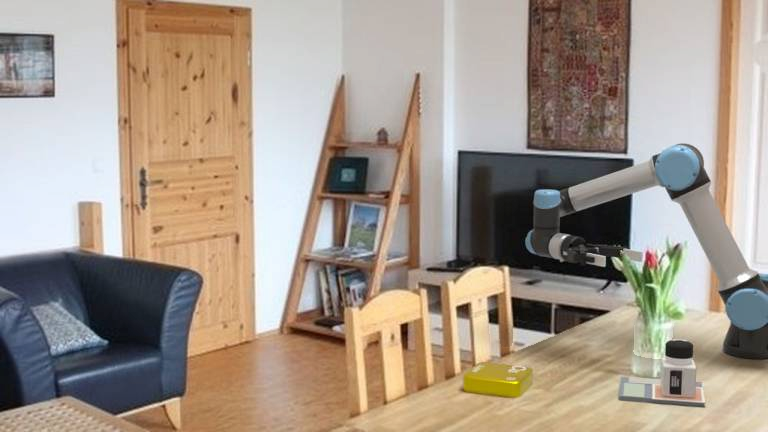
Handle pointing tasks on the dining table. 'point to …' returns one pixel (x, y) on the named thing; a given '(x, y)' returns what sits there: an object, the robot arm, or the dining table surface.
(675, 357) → the container
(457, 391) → the dining table surface
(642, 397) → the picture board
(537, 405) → the dining table surface
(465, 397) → the dining table surface
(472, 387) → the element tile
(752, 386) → the dining table surface
